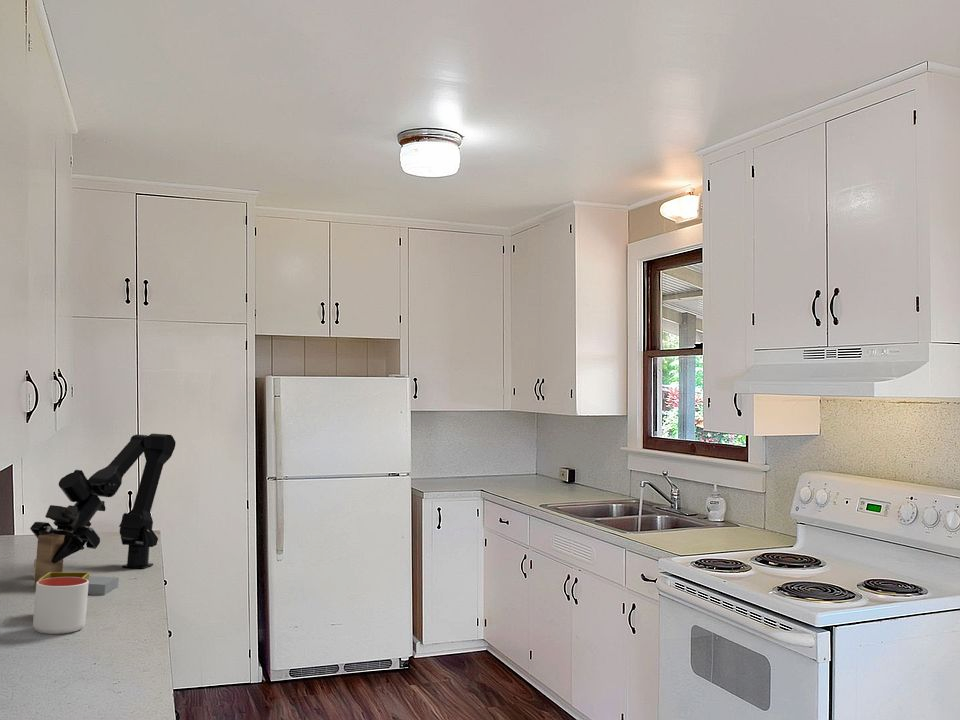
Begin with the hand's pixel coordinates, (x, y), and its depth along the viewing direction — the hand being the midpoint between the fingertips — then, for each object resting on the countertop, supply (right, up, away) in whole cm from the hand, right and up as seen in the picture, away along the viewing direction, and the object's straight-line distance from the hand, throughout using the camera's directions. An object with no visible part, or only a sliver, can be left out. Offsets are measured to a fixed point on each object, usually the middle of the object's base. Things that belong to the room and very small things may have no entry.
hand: (45, 561), depth 220 cm
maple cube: (-6, -7, +12) cm, 15 cm away
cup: (+22, -6, -38) cm, 44 cm away
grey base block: (+12, -8, -1) cm, 15 cm away
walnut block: (0, -7, +1) cm, 7 cm away
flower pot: (+17, -6, -27) cm, 33 cm away
